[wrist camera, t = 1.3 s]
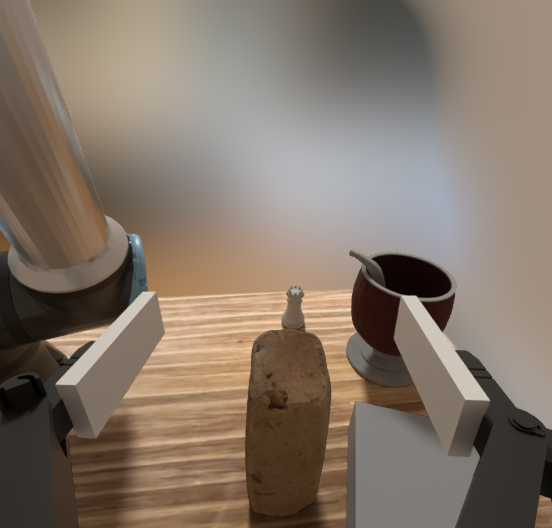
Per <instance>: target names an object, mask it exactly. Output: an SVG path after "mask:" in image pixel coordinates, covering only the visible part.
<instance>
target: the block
mask: <svg viewBox="0 0 552 528" xmlns="http://www.w3.org/2000/svg"><path fill="white" fill-rule="evenodd" d="M330 404H331V383H330V377H329V373H328V369H327V364H326V358H325V353H324V350H323V347H322V343H321V341H320V340H319V339H318V337H317V336H316V335H314V334H312V333H308V332H302V331H298V330H295V329H282V330H269V331H267V332H265V333H264V334H262V335H260V336H259V337H258V338H257V339H256V340H255V341H254V344H253V348H252V355H251V374H250V379H249V389H248V400H247V416H246V440H245V463H246V480H247V491H248V498H249V503H250V506H251V508H252V510H253V511H254V512H256V513H259V514H265V515H268V516H289V515H293V514H296V513H298V512H299V511H300V510H301V509H302V508H304V507H305V506H307V505H310V504H311V503H313V501H314V500H315V498H316V494H317V490H318V485H319V481H320V476H321V472H322V467H323V461H324V454H325V449H326V441H327V433H328V426H329V417H330Z"/></svg>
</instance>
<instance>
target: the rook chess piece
mask: <svg viewBox="0 0 552 528" xmlns="http://www.w3.org/2000/svg"><path fill="white" fill-rule="evenodd" d="M286 295H287V296H288V299H287V301H288V306H287V309H286V310H285V312H284V313H283V315H282V323H283V325H284V326H285V327H286V328H288V329H299V328H300V327H302V326H303V325H304V315H303V313H302V311H301V303H302V299H301V298H302V297H303V296H304V293H303V291H302V289H301V287H298V288H297V286H294V288H293V287H292V286H291V287H290V288H289V290H288V291H287V292H286Z"/></svg>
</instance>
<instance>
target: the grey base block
mask: <svg viewBox="0 0 552 528" xmlns="http://www.w3.org/2000/svg"><path fill="white" fill-rule="evenodd" d="M479 459H480V456H479V454H478V452H477V451H476V449H475V447H474V446H473V449H472V452H471V454H470V457H459V456H447V454H446V452H445V450H444V448H443V446H442V443H441V441H440V439H439V437H438V435H437V432H436V430H435V428H434V426H433V424H432V421H431V419H430V417H427V416H423V415H418V414H413V413H409V412H404V411H399V410H395V409H390V408H385V407H381V406H376V405H371V404H367V403H362V402H357V401H356V402H355V405H354V409H353V413H352V417H351V420H350V424H349V428H348V465H347V512H346V528H455V526H456V523H457V520H458V518H459V515H460V512H461V509H462V506H463V504H464V501H465V498H466V495H467V492H468V489H469V487H470V484H471V481H472V478H473V474H474V472H475V469H476V467H477V464H478V461H479Z"/></svg>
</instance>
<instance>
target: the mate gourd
mask: <svg viewBox="0 0 552 528" xmlns="http://www.w3.org/2000/svg"><path fill="white" fill-rule="evenodd" d="M349 255H350V256H353V257H355V258H357V259H358V260H359V261H360V262H362V263H363V264H362V267H361V269H360V271H359V274H358V276H357V279H356V281H355V284H354V288H353V293H352V303H351V314H352V321H353V325H354V327H355V329H356V330H357V333H355V334H354V335H352V336H351V338H350V339H349V340H348V343H347V347H346V354H347V358H348V360H349V362H350V364H351V365H352V367H353V368H354V369H355V370H356V371H357V372H358V373H359V374H360V375H361V376H363V377H364V378H366V379H367V380H369V381H371V382H373V383H376V384H379V385H382V386H387V387H403V386H406V385H409V384H411V383H412V382H413V380H412V378H411V375H410V373H409V371H408V369H407V367H406V364H405V362H404V360H403V358H402V356H401V353H400V351H399V349H398V347H397V345H396V342H395V340H394V334H395V328H396V322H397V316H398V311H399V305H400V299H401V296H417V298H418V299H419V300H420V302H421V303H422V305H423V306H424V308H425V309H426V310H427V312H428V313H429V315H430V316H431V317H432V319H433V320H434V322H435V323H436V325H437V326H438V327H439V329H440V330H441V332H443V330H444V329H445V327H446V325H447V322H448V320H449V318H450V315H451V312H452V308H453V304H454V298H455V291H456V288H457V285H456V281H455V279H454V277H453V276H452V275H451V274H450V273H449V272H448V271H446V270H445V269H444V268H443V267H441V266H439V265H438V264H436V263H434V262H432V261H430V260H427V259H424V258H421V257H418V256H415V255H410V254H406V253H398V252H385V253H377V254H374V255H371V256H369V257H367V256H364V255H362V254H360V253H358V252H355V251H353V250H351V251H350V253H349Z"/></svg>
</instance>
